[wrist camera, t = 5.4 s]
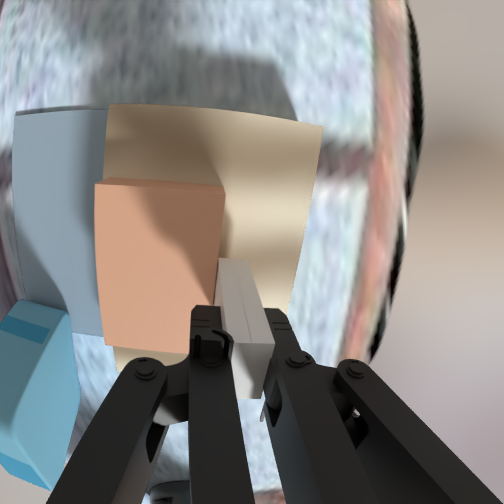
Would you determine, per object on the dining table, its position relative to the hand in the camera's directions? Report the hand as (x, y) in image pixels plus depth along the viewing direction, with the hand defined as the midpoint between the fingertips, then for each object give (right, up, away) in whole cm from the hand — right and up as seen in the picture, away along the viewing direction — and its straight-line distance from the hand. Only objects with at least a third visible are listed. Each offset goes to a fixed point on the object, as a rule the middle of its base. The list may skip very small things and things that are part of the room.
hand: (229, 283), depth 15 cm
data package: (-17, -7, +6) cm, 19 cm away
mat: (-12, +3, +3) cm, 13 cm away
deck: (-2, +2, +5) cm, 6 cm away
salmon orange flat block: (-4, +1, 0) cm, 4 cm away
